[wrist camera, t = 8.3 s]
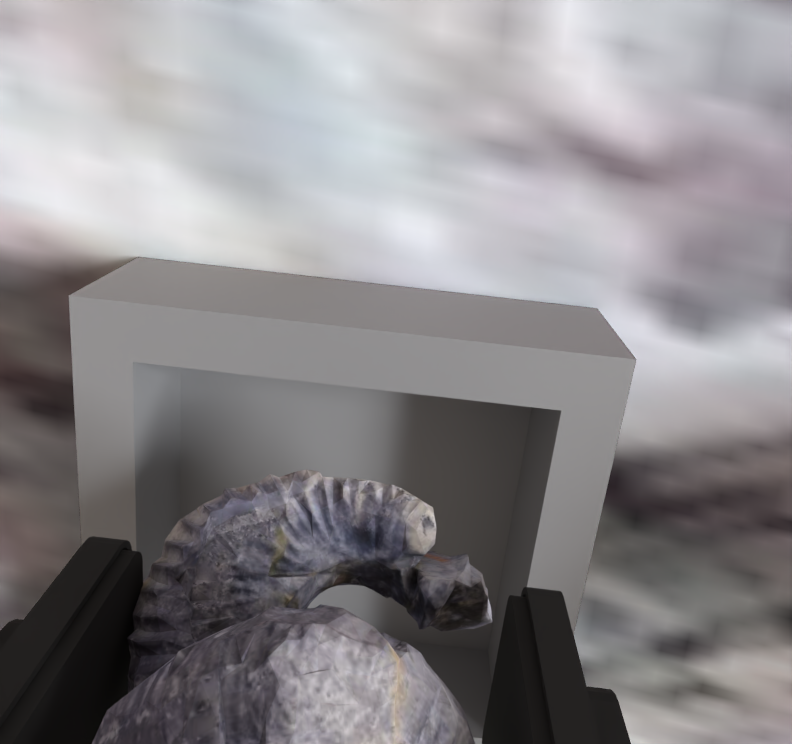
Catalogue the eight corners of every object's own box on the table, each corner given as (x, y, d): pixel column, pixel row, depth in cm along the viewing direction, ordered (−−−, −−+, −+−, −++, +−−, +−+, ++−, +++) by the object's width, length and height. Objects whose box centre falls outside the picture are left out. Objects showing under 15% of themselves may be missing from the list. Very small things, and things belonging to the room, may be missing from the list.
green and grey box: (138, 257, 15) (-45, 357, 9) (648, 314, 15) (782, 451, 9) (148, 842, 20) (38, 1129, 15) (517, 885, 20) (549, 1191, 15)
